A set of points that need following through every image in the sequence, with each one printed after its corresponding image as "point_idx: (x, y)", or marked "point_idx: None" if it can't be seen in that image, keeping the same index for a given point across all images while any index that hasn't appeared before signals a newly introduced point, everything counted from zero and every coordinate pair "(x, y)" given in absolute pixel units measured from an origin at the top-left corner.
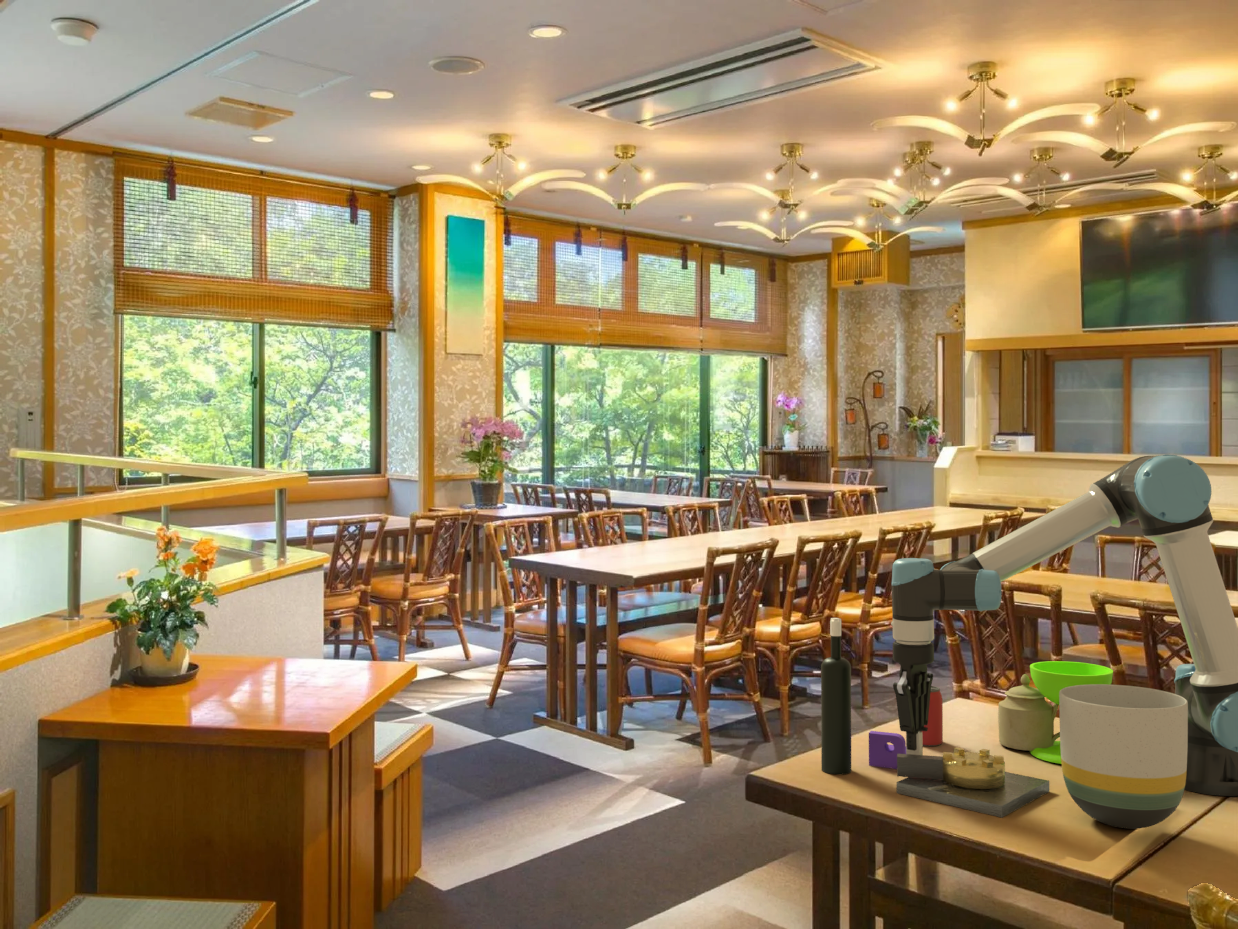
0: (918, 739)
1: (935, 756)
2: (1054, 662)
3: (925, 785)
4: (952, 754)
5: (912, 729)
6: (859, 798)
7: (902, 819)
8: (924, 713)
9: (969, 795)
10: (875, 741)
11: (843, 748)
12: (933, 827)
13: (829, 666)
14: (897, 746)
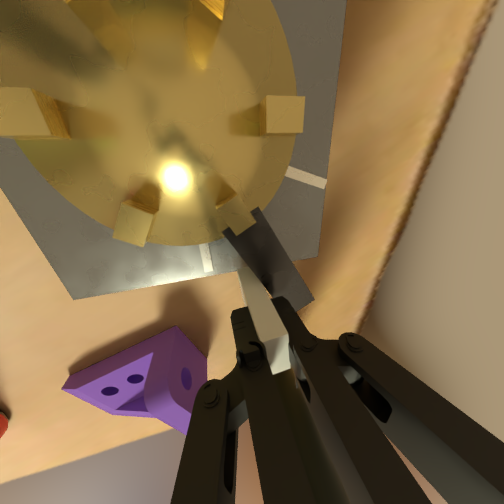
0: (279, 318)
1: (242, 250)
2: None
3: (304, 206)
4: (173, 230)
5: (362, 341)
6: (360, 264)
7: (429, 153)
8: (223, 464)
9: (316, 62)
10: None
11: (291, 383)
12: (457, 73)
13: None
14: (176, 374)
